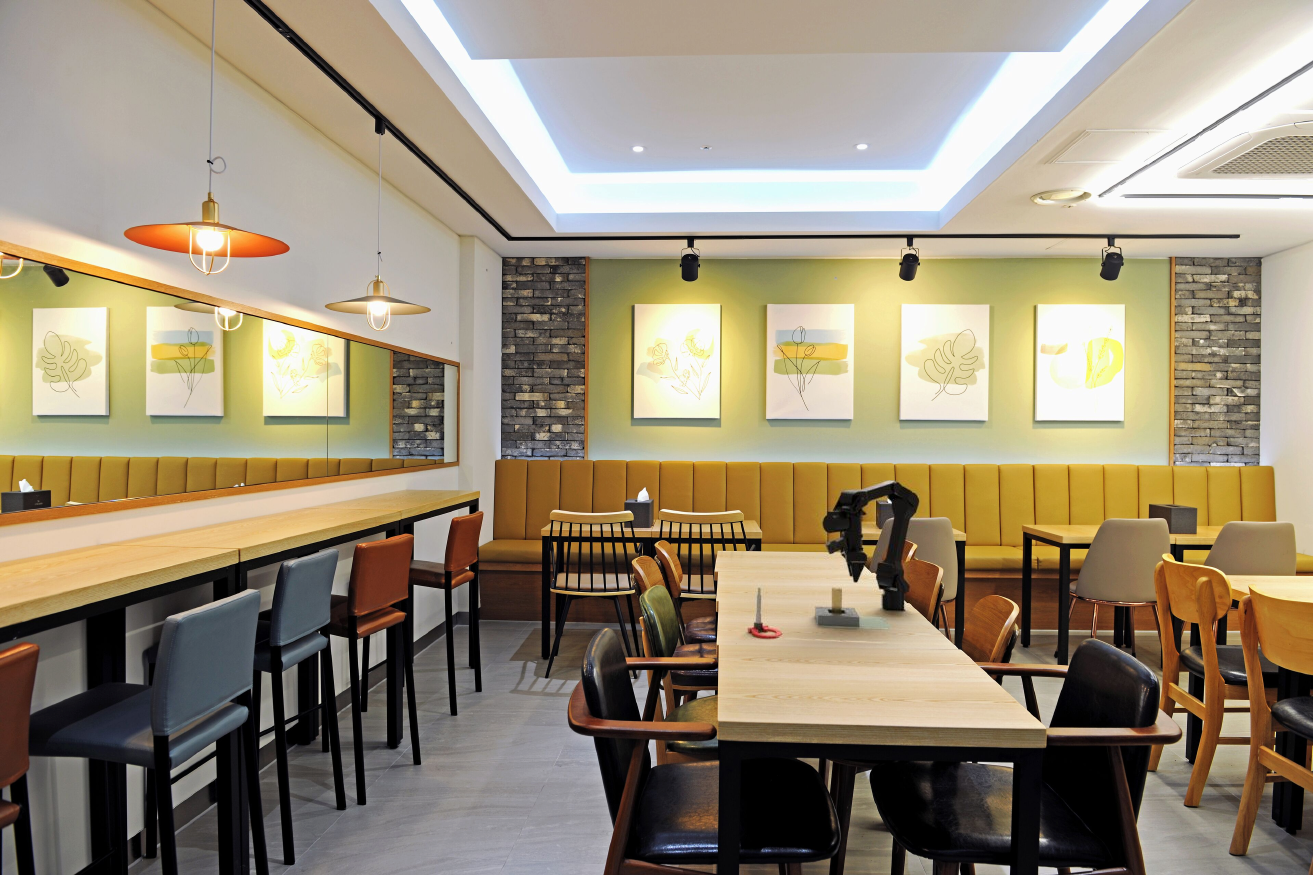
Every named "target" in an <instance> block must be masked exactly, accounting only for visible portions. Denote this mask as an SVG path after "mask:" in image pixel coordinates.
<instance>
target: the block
mask: <svg viewBox="0 0 1313 875" xmlns="http://www.w3.org/2000/svg"><path fill="white" fill-rule="evenodd" d="M814 617H815V620H817V621H816V623H817V626H818V625H819V626H844V627H859V617H860V616H859V614H858V612H857V610H856V608H855V607H844V606H842V614H838V613H832V606H815V607H814Z"/></svg>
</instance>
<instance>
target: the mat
mask: <svg viewBox="0 0 1313 875" xmlns="http://www.w3.org/2000/svg"><path fill="white" fill-rule="evenodd" d="M815 620H816V619H815ZM816 622H817V620H816ZM817 626H818V627H819V628H834V629H835V628H837V629H838V628H840V629H862V630H863V629H865V630H886V631H888V630H889V631H892V628H891V627H890V625H889V623H887V620H886V619H885V618H884V617H883V616H881V617H880V616H859V627H844V626H819V625H818V624H817Z"/></svg>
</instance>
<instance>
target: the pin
mask: <svg viewBox="0 0 1313 875" xmlns="http://www.w3.org/2000/svg"><path fill="white" fill-rule="evenodd" d="M831 607H832V613H838V614H842V607H843V588H842V587H831Z"/></svg>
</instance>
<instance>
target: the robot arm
mask: <svg viewBox="0 0 1313 875" xmlns="http://www.w3.org/2000/svg"><path fill="white" fill-rule="evenodd" d="M883 497H886V498H887V500H889V501H890V502H891V506H890V507H891V511H892V513H893V520H892V526H891V530H890V536H889V540H888V546H887V549H886V555H885V558H884V560H883V561H882V562H881V561H878V562H877V564H876V571H875V573H874V574H875V580H876V582H877V588H878V589H879V590H881V591H883V592H882V594H881V601H880V602H881V604H880V605H881V607H882V609H884V611H890V612H891V611H892V612H894V611H895V612H907V611H906V608H905V594H907V593H909V592H910V588H911V586H910V584H909V582H907V580H906V579H905V569H904V567H903V563H902V558H903V556H904V555H903V554H904V549H905V545H906V540H907V535H908V534H907V533H908V530H909V524H910V520H911V519H912V518H913V517H914V515H916V513H917V510H918V507H919V504H920V498H919V497H918V495H917V493H915V492H914V491H913V490H911V489H909V488H907V487H906V486H903V485H902V484H901V483H900V482H899V481H897V480H885V481H883V482H880V483H877V484H874V485H872V486H869V487H865V488H862V489H845V490H842V491H841V492H840V494H839V497H838V499H837V501H836V503H835V505H834V507H833V509H832V510H827V512H826V515H825V516H824V517H823V519H822V523H821V524H822V528H823V530H824V531H825V532H826V533H828V534H835V533H841V536H840V537H839V538H834V539H832V540H829V541H827V542H825V543H824V544H825V548H826V550H827V552H828V555H833V554H834V553H837V552H839V553H840V555H841V556H842V557H843V559H844V560H845V562H846V566H847V571H848V574H849V577H850V578H851V577H852V581H853V583H858V582H859V579H860V577H861V575H862V572H863V571H864V568H865V565H866V564H867V562H868V555H867V554H866V552H865V551H864V547H863V538H864V534H863V524H862V522H863V521H862V516H867V512H866V511H864V509H863V508H865V507H867V506H868V504H869V502H871V501H874V500H878V499H881V498H883Z"/></svg>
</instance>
